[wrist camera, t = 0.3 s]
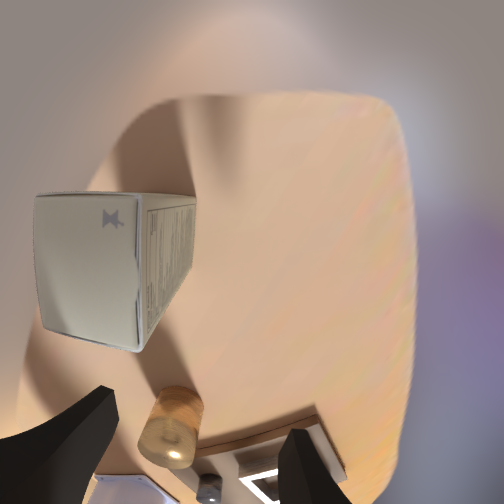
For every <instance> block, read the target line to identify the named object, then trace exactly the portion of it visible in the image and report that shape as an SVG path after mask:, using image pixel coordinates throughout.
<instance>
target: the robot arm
mask: <svg viewBox="0 0 504 504" xmlns="http://www.w3.org/2000/svg"><path fill="white" fill-rule="evenodd" d="M118 422H119V416H118V411H117V405H116V400H115V394H114V390H113V389H110V388H107V387H105V386H102V385H100V386H99V387H97V388H96V389H95V390H93V391H92V392H91V393H89V394H88V395H87V396H85V397H84V398H82V399H81V400H80V401H78V402H77V403H75V404H74V405H73V406H71V407H70V408H68V409H67V410H65V411H64V412H62V413H60V414H59V415H57V416H55V417H54V418H52V419H50V420H48V421H47V422H45V423H43V424H41V425H39V426H37V427H35V428H32V429H30V430H28V431H25V432H22V433H20V434H17V435H14V436H11V437H7V438H2V439H0V504H82V501H83V498H84V495H85V492H86V489H87V486H88V484H89V481H90V479H91V477H92V475H93V473H94V471H95V469H96V467H97V465H98V463H99V462H100V460H101V458H102V456H103V454H104V453H105V451H106V449H107V447H108V445H109V443H110V441H111V440H112V437H113V435H114V432H115V430H116V427H117V424H118ZM94 477H95V479H97V480H98V482H97V484H96V486H95V489H94V491H93V493H92V495H91V497H90V499H89V501H88V503H87V504H180V503H179V502H177V501H176V500H175V499H173V498H172V497H171V496H170V495H168V494H167V493H166V492H165V491H163V490H162V489H161V488H160V487H158V486H157V485H156V484H155V483H154V482H152V481H151V480H150V479H149V478H148V477H147V476H145V475H95V476H94ZM277 478H278V491H279V503H280V504H352V503H351V502H350V501H349V500H348V498H347V497H346V496H345V495H344V493H343V492H342V491H341V489H340V488H339V486H338V485H337V484H336V482H335V481H334V479H333V478H332V476H331V475H330V473H329V471H328V469H327V468H326V466H325V464H324V463H323V461H322V459H321V457H320V455H319V453H318V452H317V450H316V448H315V446H314V444H313V441H312V439H311V437H310V435H309V433H308V431H307V430H306V429H294V428H291V430H290V432H289V434H288V436H287V438H286V440H285V442H284V444H283V446H282V448H281V450H280V452H279V454H278V470H277Z"/></svg>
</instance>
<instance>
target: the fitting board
mask: <svg viewBox="0 0 504 504" xmlns="http://www.w3.org/2000/svg"><path fill="white" fill-rule="evenodd" d="M291 428H294V429H306V430H307V431H308V433H309V435H310V437H311V439H312V441H313V444H314V446H315V448H316V450H317V452H318V453H319V455H320V457H321V459H322V461H323V463H324V464H325V466H326V468H327V469H328V471H329V473H330V475H331V476H332V478H333V479H334V481H335V482H336V484H337V483H339V482H342V481H345V480H347V476H346V473H345V471H344V469H343V467H342V465H341V463H340V461H339V459H338V457H337V455H336V453H335V451H334V449H333V447H332V445H331V443H330V441H329V439H328V437H327V435H326V433H325V431H324V429H323V427H322V425H321V423H320V421H319V419H318V417H317V415H314V416H311V417H309V418H306V419H304V420H301V421H298V422H295V423H293V424H290V425H287V426H284V427H281V428H278V429H275V430H272V431H269V432H266V433H262V434H259V435H256V436H252V437H249V438H245V439H241V440H238V441H234V442H230V443H225V444H221V445H217V446H212V447H208V448H203V449H197V450H195V454H194V459H193V463H192V464H191V465H190V466H189V467H187V468H184V469H169V470H170V471H171V472H172V473H173V474H174V475H175V476H176V477H177V478H178V479H180V480H181V481H182V482H183V483H184V484H185V485H187V486H188V487H189V488H190V489H191V490H193V491H194V492H195V493H196V494H197V496H196V500H197V501H198V502H200V503H202V504H280V503H279V491H278V478H277V470H278V454H279V452H280V450H281V448H282V446H283V444H284V442H285V440H286V438H287V436H288V434H289V432H290V430H291ZM167 469H168V468H167Z"/></svg>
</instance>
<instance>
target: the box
mask: <svg viewBox="0 0 504 504" xmlns="http://www.w3.org/2000/svg"><path fill="white" fill-rule="evenodd" d="M195 217H196V197H194V196H185V195H173V194H160V193H136V192H99V191H76V192H52V193H40V194H37V195H36V196H35V199H34V213H33V246H34V249H33V250H34V267H35V277H36V287H37V294H38V301H39V307H40V313H41V319H42V324H43V327H44V328H45V329H47V330H50V331H52V332H55V333H59V334H62V335H65V336H69V337H72V338H75V339H78V340H82V341H86V342H90V343H94V344H98V345H102V346H106V347H110V348H115V349H120V350H125V351H130V352H135V353H138V352H141V351H142V349H143V348H144V346H145V344H146V343H147V341H148V340H149V338H150V336H151V334H152V333H153V331H154V329H155V328H156V326H157V324H158V322H159V321H160V319H161V317H162V316H163V314H164V312H165V311H166V309H167V307H168V306H169V304H170V302H171V301H172V299H173V297H174V296H175V294H176V292H177V291H178V289H179V288H180V286H181V284H182V283H183V281H184V279H185V278H186V276H187V275H188V273H189V271H190V270H191V268H192V260H193V248H194V232H195Z"/></svg>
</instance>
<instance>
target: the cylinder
mask: <svg viewBox="0 0 504 504" xmlns="http://www.w3.org/2000/svg"><path fill="white" fill-rule="evenodd" d="M203 410H204V405H203V402H202V400H201V398H200V397H199V396H198V395H197V394H196V393H194V392H193V391H191V390H189V389H187V388H184V387H179V386H171V387H167V388H165V389H163V390H162V391H161V392H160V393H159V395H158V398H157V400H156V402H155V404H154V407H153V409H152V411H151V413H150V416H149V418H148V420H147V422H146V425H145V427H144V429H143V432H142V434H141V436H140V438H139V441H138V445H137V446H138V449H139V451H140V453H141V454H142V455H143V456H144V457H145V458H146V459H147V460H149V461H150V462H152V463H154V464H156V465H158V466H161V467H164V468H168V469H184V468H187V467H189V466H190V465H191V464H192V463H193V459H194V454H195V449H196V444H197V439H198V434H199V429H200V425H201V420H202V415H203Z"/></svg>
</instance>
